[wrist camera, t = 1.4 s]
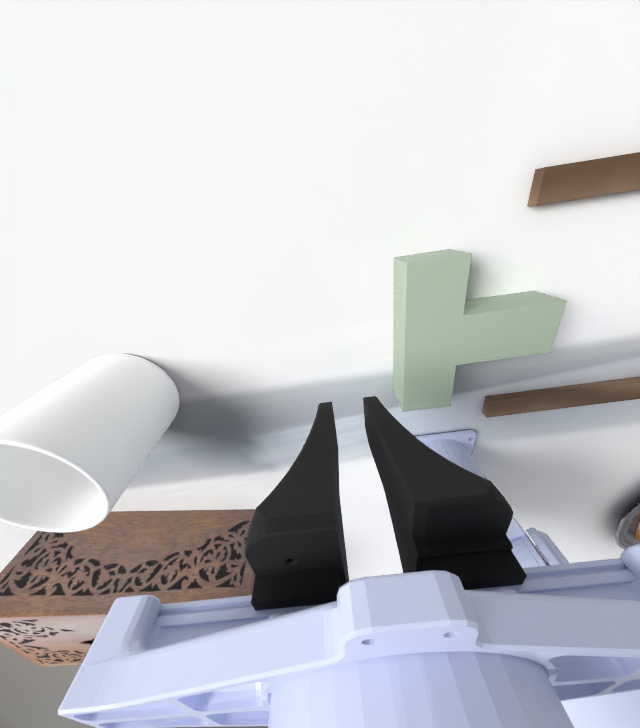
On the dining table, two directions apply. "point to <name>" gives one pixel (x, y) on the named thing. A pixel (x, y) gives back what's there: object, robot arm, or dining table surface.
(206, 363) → the dining table surface
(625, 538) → the food plate
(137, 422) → the cup
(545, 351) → the t block
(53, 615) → the tissue box cover
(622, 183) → the bracket
